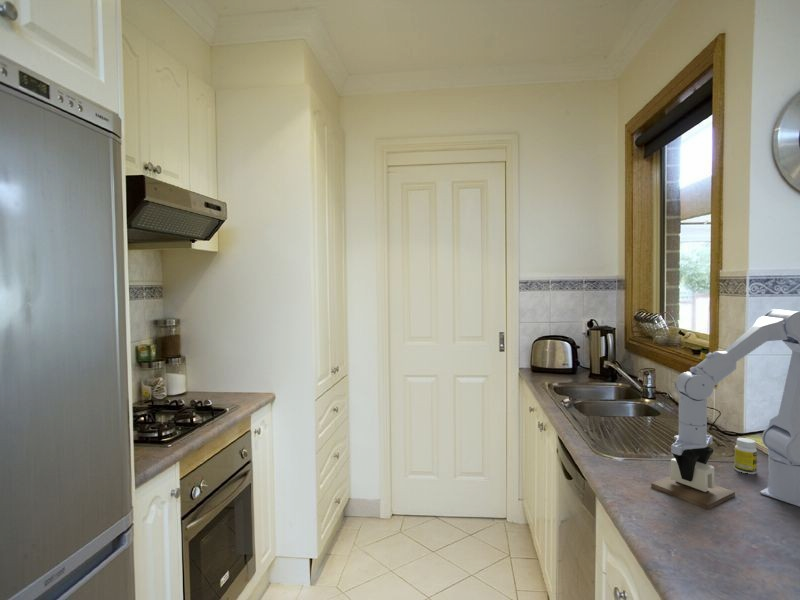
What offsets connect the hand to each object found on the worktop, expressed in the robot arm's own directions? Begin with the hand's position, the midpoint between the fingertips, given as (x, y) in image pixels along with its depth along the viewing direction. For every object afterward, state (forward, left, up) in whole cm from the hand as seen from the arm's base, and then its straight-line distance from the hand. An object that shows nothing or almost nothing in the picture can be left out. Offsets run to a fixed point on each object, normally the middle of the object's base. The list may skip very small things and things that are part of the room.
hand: (692, 477), depth 110 cm
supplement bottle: (-1, -24, -4) cm, 24 cm away
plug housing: (0, 0, -1) cm, 1 cm away
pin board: (0, 0, -3) cm, 3 cm away
